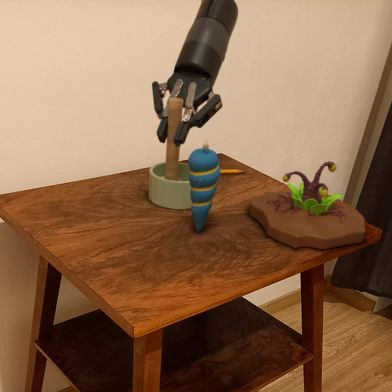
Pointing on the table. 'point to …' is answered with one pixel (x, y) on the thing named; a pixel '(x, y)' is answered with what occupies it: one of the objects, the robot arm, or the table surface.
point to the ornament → (202, 182)
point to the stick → (171, 149)
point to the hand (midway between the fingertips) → (168, 142)
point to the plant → (308, 215)
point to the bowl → (170, 187)
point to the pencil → (230, 171)
